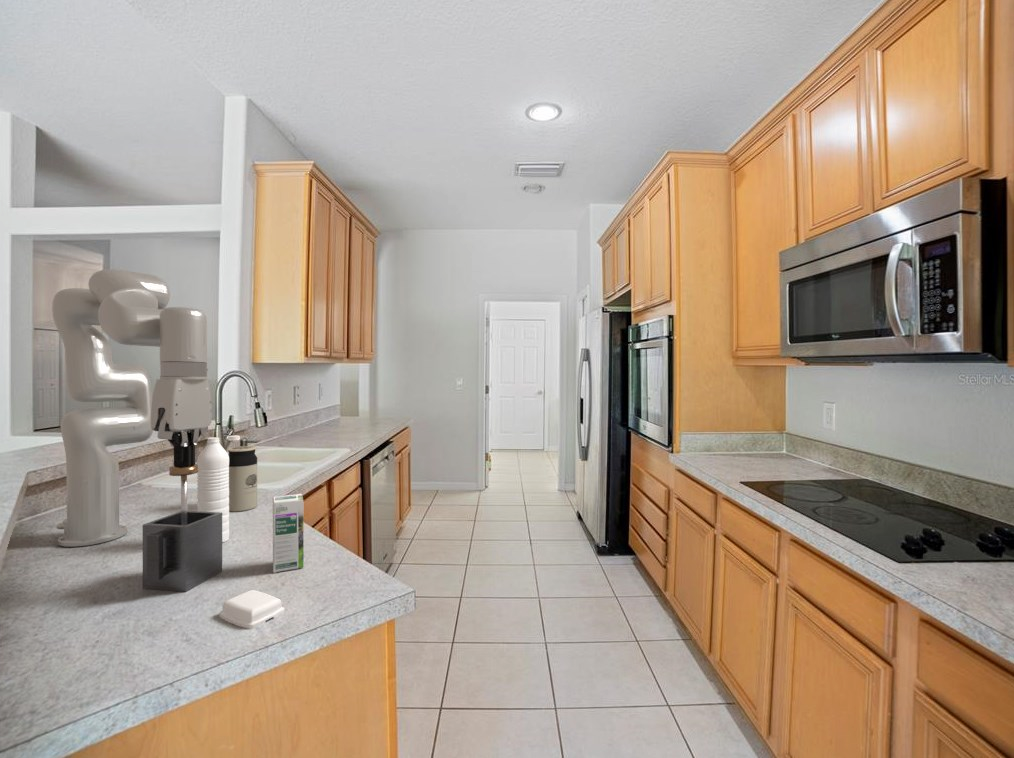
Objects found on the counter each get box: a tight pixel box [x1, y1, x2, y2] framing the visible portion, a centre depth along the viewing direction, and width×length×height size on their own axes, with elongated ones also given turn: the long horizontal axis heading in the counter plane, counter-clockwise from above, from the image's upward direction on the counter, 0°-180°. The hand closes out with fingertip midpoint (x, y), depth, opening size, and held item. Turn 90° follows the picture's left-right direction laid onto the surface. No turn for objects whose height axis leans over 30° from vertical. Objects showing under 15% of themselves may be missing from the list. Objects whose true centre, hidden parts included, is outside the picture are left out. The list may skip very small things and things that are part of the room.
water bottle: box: [196, 434, 241, 543], centre depth 111 cm, size 9×6×25 cm
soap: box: [219, 589, 285, 630], centre depth 78 cm, size 9×7×3 cm
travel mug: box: [227, 445, 258, 513], centre depth 138 cm, size 8×8×18 cm
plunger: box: [168, 463, 198, 526], centre depth 90 cm, size 6×6×16 cm
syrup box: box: [272, 493, 305, 574], centre depth 97 cm, size 6×6×14 cm
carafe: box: [142, 510, 223, 593], centre depth 89 cm, size 9×11×12 cm
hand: (184, 466), depth 90 cm, fingers closed
